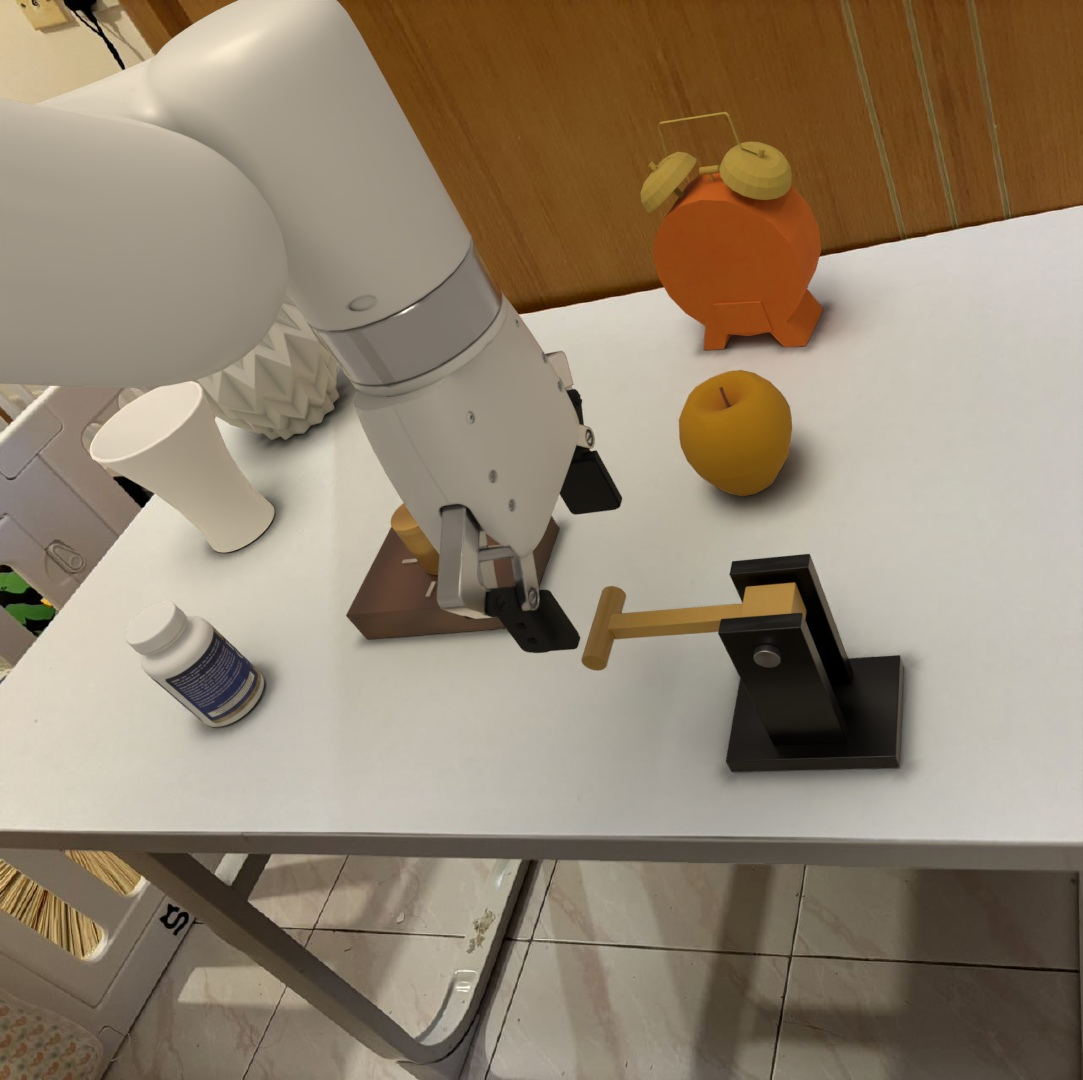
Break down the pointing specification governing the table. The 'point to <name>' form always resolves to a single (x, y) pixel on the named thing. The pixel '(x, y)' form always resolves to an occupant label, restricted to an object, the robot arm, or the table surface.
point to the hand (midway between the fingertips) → (577, 573)
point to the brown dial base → (423, 592)
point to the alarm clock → (736, 244)
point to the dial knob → (415, 540)
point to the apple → (736, 431)
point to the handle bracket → (806, 683)
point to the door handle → (678, 618)
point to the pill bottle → (195, 664)
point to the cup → (184, 463)
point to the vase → (277, 381)
